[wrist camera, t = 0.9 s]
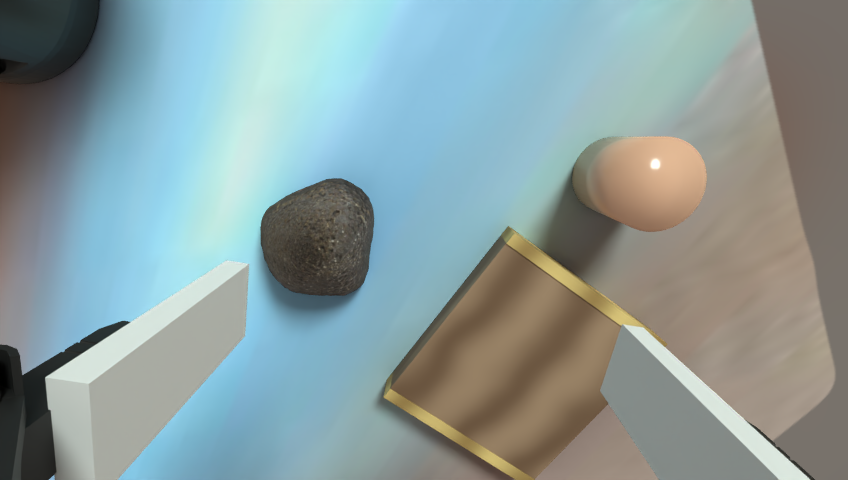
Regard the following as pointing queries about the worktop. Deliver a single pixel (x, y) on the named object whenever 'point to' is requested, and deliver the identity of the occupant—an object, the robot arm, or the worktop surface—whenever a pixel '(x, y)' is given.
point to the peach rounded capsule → (641, 180)
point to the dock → (513, 359)
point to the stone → (319, 238)
